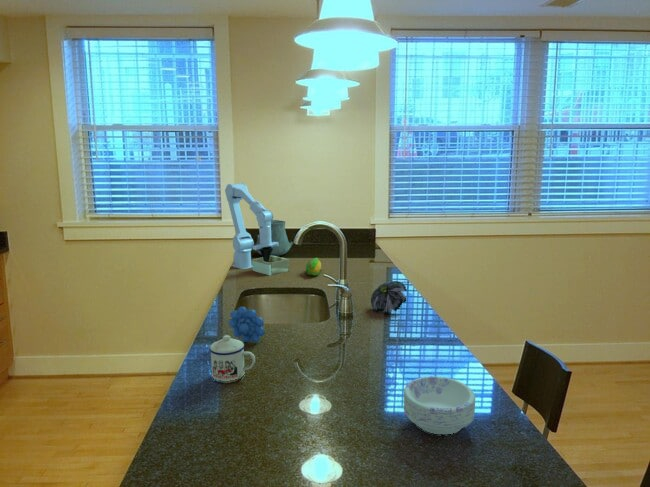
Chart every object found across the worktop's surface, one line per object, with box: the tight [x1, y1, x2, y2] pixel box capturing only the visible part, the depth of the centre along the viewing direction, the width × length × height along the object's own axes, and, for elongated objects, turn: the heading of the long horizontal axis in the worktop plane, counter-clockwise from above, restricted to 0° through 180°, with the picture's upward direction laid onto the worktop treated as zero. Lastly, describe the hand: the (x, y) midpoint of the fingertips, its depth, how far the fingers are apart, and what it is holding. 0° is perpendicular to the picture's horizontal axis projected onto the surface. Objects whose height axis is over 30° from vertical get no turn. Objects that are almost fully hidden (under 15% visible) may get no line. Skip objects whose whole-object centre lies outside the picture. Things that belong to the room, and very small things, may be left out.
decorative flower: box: [370, 280, 408, 316], centre depth 188 cm, size 15×12×15 cm
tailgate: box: [251, 258, 272, 276], centre depth 245 cm, size 14×1×6 cm, turn 44°
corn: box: [305, 257, 322, 277], centre depth 246 cm, size 7×8×20 cm
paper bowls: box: [403, 375, 476, 435], centre depth 108 cm, size 15×15×8 cm
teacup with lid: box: [209, 334, 256, 381], centre depth 132 cm, size 12×9×12 cm
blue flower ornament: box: [228, 306, 266, 343], centre depth 155 cm, size 12×7×12 cm, turn 84°
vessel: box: [255, 219, 293, 257], centre depth 289 cm, size 22×22×20 cm
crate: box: [255, 256, 290, 276], centre depth 249 cm, size 14×11×7 cm
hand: (266, 262), depth 246 cm, fingers closed
